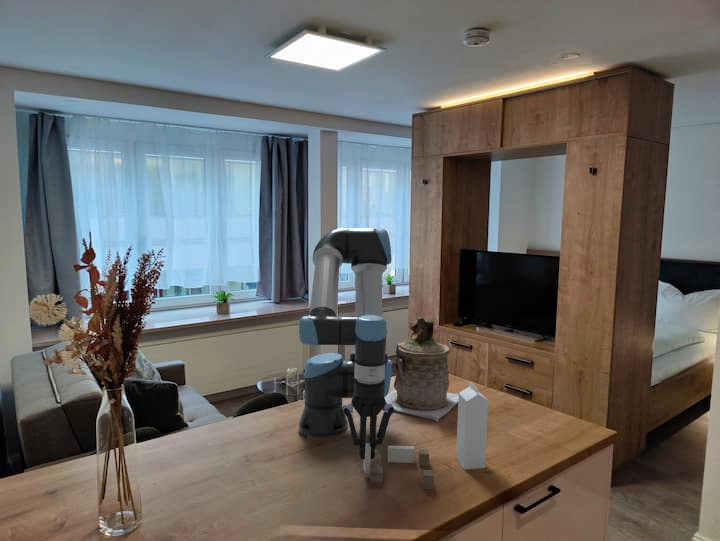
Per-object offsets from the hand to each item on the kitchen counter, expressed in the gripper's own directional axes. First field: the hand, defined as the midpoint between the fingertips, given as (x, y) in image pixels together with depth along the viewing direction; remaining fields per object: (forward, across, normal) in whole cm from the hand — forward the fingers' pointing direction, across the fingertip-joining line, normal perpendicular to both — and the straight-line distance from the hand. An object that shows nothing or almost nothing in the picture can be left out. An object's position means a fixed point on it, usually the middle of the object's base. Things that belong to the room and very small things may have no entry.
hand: (366, 470), depth 121 cm
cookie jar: (+3, +27, +48) cm, 55 cm away
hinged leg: (+2, +2, +1) cm, 3 cm away
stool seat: (+3, +8, 0) cm, 9 cm away
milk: (+3, +30, +6) cm, 30 cm away
